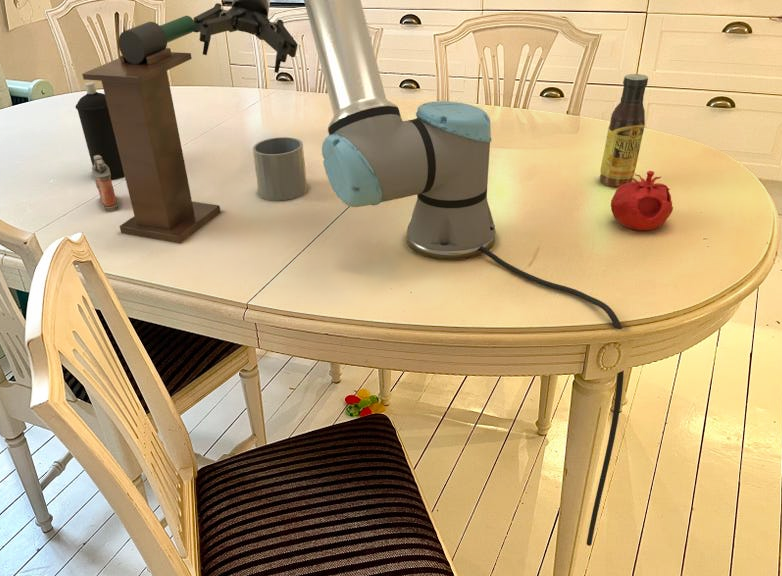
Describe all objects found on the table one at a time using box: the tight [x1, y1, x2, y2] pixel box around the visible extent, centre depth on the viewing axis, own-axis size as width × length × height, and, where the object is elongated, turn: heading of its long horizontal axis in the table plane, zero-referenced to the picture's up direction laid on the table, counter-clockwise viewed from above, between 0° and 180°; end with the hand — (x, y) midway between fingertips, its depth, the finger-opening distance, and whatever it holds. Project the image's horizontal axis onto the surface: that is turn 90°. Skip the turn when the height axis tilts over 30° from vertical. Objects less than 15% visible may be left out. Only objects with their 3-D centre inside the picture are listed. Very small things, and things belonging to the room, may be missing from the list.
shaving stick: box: [118, 15, 195, 64], centre depth 131 cm, size 17×5×5 cm, turn 153°
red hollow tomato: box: [610, 170, 674, 231], centre depth 127 cm, size 10×10×9 cm
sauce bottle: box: [599, 73, 649, 188], centre depth 138 cm, size 6×6×20 cm
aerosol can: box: [74, 81, 125, 181], centre depth 163 cm, size 8×8×20 cm
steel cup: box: [252, 136, 308, 202], centre depth 150 cm, size 10×10×10 cm
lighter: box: [91, 155, 119, 212], centre depth 152 cm, size 8×3×10 cm, turn 22°
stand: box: [81, 47, 222, 244], centre depth 136 cm, size 15×14×31 cm
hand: (241, 57), depth 137 cm, fingers open, 13 cm apart
